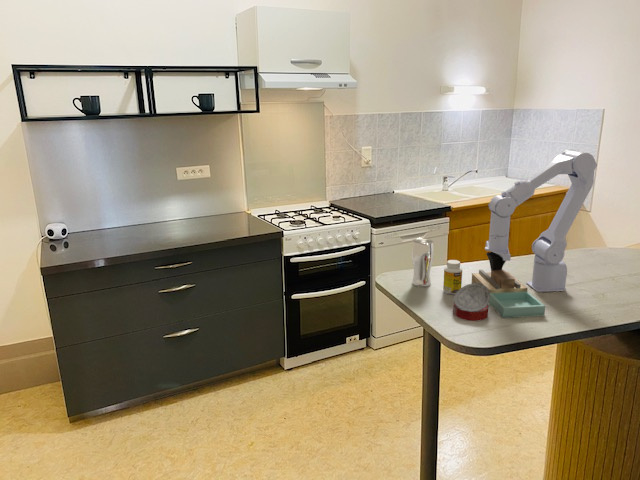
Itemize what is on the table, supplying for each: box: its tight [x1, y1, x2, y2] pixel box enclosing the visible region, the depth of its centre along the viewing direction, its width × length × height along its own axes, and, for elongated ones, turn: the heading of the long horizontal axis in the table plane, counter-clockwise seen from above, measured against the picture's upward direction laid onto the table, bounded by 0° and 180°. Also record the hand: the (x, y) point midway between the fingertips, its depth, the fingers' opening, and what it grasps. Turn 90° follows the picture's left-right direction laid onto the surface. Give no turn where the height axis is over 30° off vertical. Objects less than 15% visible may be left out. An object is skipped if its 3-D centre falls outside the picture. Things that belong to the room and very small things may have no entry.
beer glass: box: [411, 237, 434, 288], centre depth 162 cm, size 7×7×15 cm
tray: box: [488, 290, 546, 319], centre depth 143 cm, size 12×11×3 cm
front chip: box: [496, 273, 515, 289], centre depth 150 cm, size 4×4×3 cm
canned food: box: [452, 282, 490, 322], centre depth 141 cm, size 11×10×10 cm
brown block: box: [490, 269, 508, 282], centre depth 153 cm, size 4×4×3 cm
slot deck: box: [471, 269, 528, 293], centre depth 155 cm, size 12×14×5 cm
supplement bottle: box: [442, 259, 463, 295], centre depth 155 cm, size 6×6×10 cm
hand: (495, 274), depth 157 cm, fingers closed
